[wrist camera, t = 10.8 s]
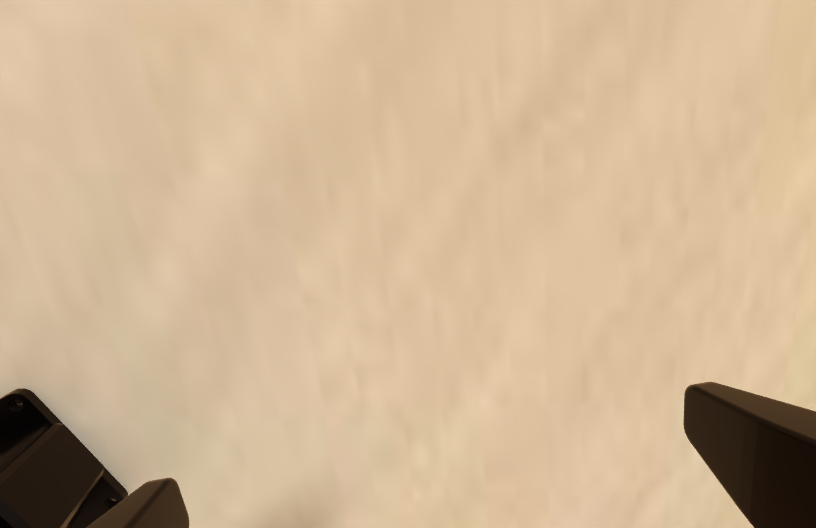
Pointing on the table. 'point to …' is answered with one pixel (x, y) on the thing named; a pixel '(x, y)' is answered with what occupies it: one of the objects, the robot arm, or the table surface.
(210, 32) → the table surface
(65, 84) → the table surface
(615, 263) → the table surface
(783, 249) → the table surface
